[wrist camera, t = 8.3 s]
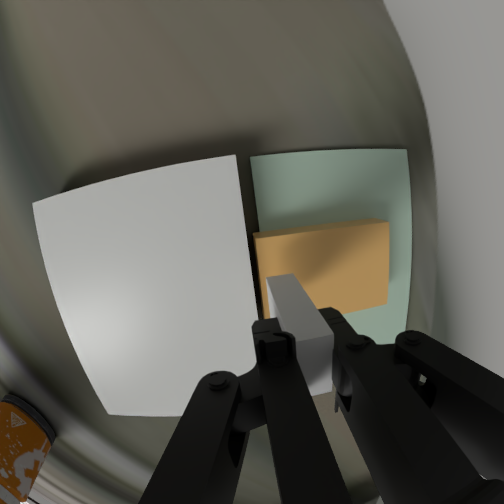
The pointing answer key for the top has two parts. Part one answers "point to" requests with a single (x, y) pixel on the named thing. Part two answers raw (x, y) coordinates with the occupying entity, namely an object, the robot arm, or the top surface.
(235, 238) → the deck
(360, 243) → the light orange flat block
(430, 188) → the top surface
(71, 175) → the top surface
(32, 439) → the canister
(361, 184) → the mat
